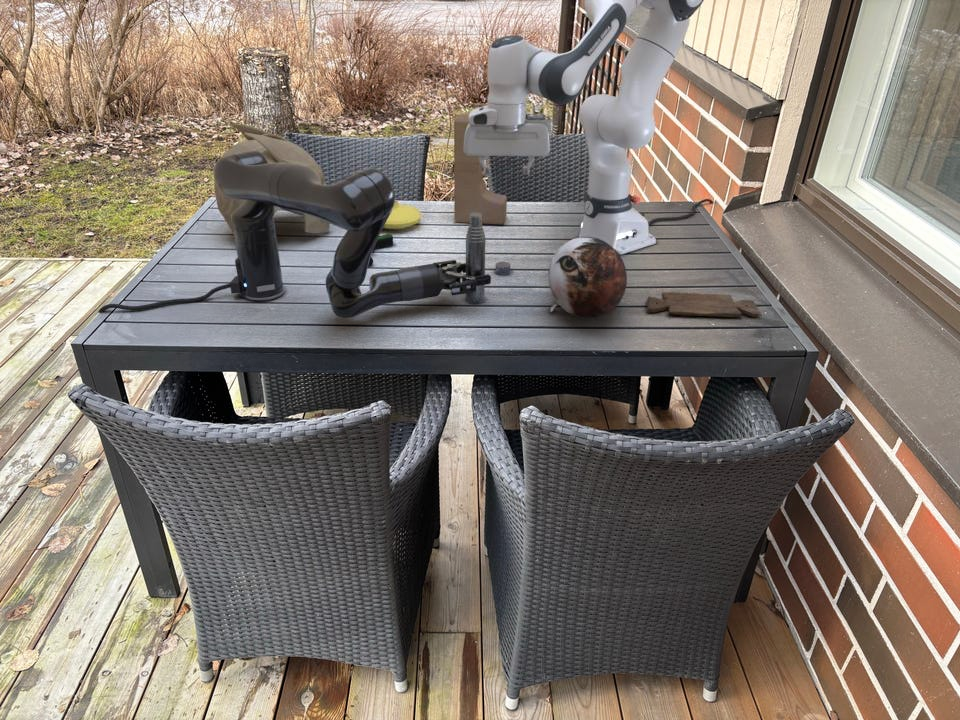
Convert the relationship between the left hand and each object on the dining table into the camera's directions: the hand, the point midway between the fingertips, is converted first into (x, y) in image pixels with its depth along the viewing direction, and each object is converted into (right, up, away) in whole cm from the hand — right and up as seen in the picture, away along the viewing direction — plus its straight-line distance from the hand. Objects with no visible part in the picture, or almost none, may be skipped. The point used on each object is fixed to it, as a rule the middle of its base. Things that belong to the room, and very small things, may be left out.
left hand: (483, 272), depth 167 cm
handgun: (-30, +8, +25) cm, 40 cm away
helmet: (-59, +16, +39) cm, 73 cm away
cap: (+5, +4, +16) cm, 17 cm away
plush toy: (+23, -9, -2) cm, 25 cm away
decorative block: (-1, +22, +50) cm, 54 cm away
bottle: (-2, -6, +3) cm, 7 cm away
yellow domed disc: (-26, +20, +45) cm, 56 cm away
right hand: (+6, +24, +4) cm, 25 cm away
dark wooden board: (+51, -8, 0) cm, 52 cm away
